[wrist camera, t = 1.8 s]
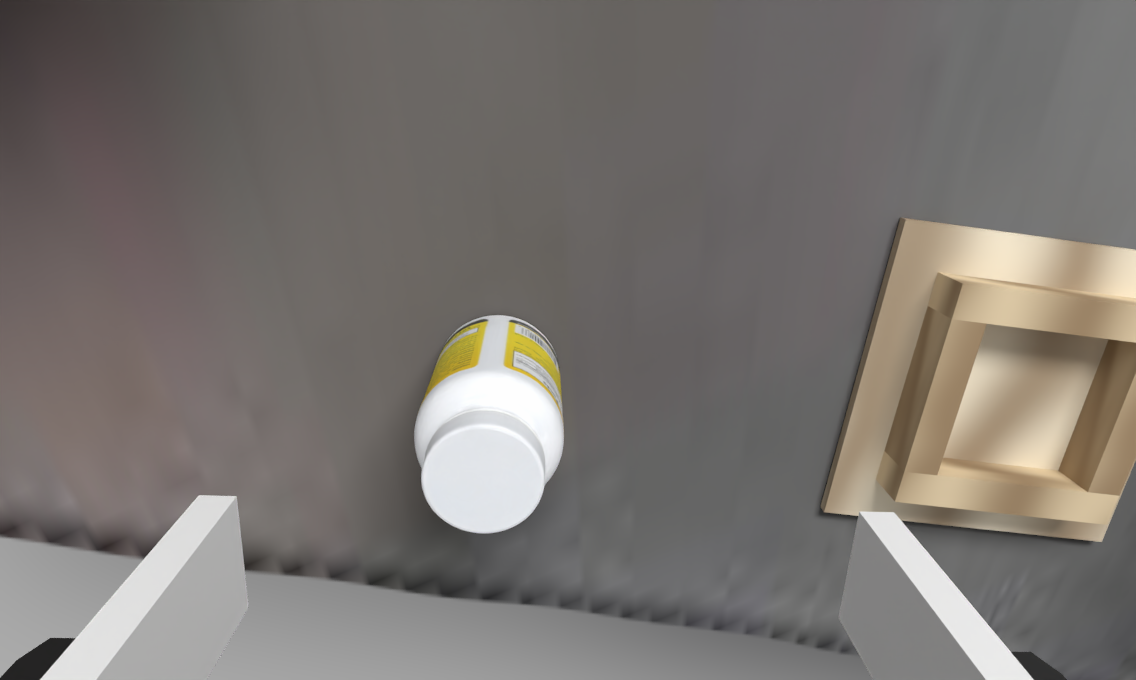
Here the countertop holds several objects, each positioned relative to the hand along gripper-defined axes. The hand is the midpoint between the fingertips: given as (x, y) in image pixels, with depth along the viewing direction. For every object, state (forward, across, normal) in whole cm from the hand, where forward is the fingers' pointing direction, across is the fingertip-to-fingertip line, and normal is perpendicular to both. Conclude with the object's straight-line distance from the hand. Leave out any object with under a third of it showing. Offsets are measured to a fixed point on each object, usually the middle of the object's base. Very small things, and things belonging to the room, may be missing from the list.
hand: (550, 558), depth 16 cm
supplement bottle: (+18, -2, -2) cm, 18 cm away
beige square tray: (+17, +21, -2) cm, 27 cm away
